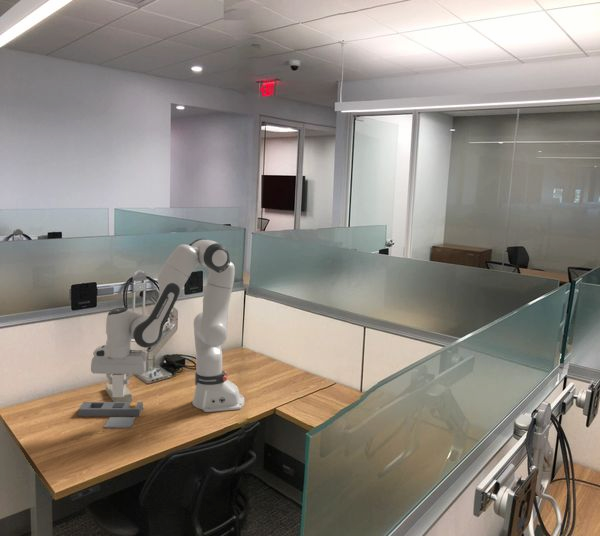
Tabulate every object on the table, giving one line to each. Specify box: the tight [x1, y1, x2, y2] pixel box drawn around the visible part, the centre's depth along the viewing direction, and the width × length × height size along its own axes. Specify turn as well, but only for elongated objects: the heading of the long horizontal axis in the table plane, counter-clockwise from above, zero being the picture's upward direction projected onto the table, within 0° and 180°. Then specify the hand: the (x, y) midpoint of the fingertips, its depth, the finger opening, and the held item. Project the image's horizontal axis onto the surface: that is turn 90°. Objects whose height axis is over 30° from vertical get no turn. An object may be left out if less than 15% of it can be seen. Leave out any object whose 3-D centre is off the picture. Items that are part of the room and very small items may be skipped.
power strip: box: [77, 401, 144, 417], centre depth 211 cm, size 24×7×4 cm, turn 95°
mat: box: [103, 416, 136, 429], centre depth 203 cm, size 10×8×1 cm
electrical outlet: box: [104, 382, 133, 402], centre depth 228 cm, size 7×4×18 cm
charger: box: [111, 374, 127, 397], centre depth 200 cm, size 4×4×11 cm
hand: (119, 383), depth 200 cm, fingers closed on charger, 4 cm apart
